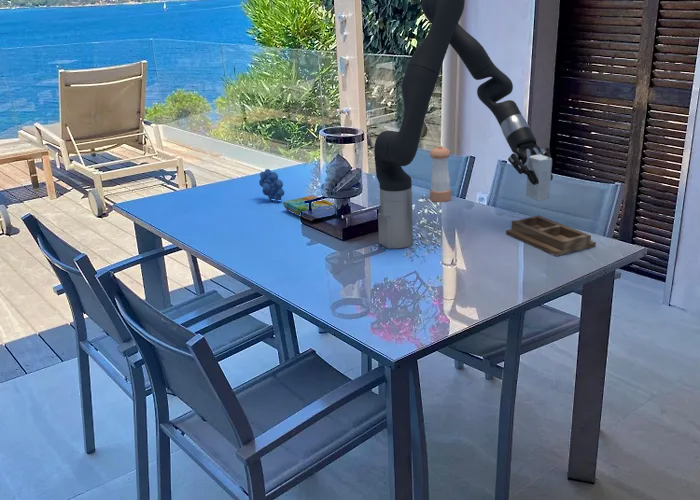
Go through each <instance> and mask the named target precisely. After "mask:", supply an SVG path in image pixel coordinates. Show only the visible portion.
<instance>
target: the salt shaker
mask: <svg viewBox="0 0 700 500" xmlns="http://www.w3.org/2000/svg"><path fill="white" fill-rule="evenodd" d="M429 155H430V158H431V165H432V166H431V167H432V170H431V176H430V190H429V199H430V201H432V202H435V203H443V202H445V203H446V202H449V201H451V200H452V191H451V188H450V187H451V179H450V172H449V158H450V156H451V151H450V150H449V148H447V147H445V146H442V145H438V146H437V147H435V148H432V149H431V150H430V152H429Z"/></svg>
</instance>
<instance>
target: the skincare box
mask: <svg viewBox="0 0 700 500" xmlns="http://www.w3.org/2000/svg"><path fill="white" fill-rule="evenodd" d="M530 159H531V161H532V163H531V166H532V171H534V173H535V175H536V176H537V178H538V183H537V184H536V185H533V184H532V183H531V182H530V180H529V179H528V177H527V176H526V192H525V196H526V197H527V198H529V199H532V200H533V201H534V200H535V201H538V202H539V201H545V200H549V199H550V191H551V181H552V180H551V173H552V167H553V164H552V162H553V157H551V158H549V157H547V156H543V155H540V154H539V155H533V156H530Z"/></svg>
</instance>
